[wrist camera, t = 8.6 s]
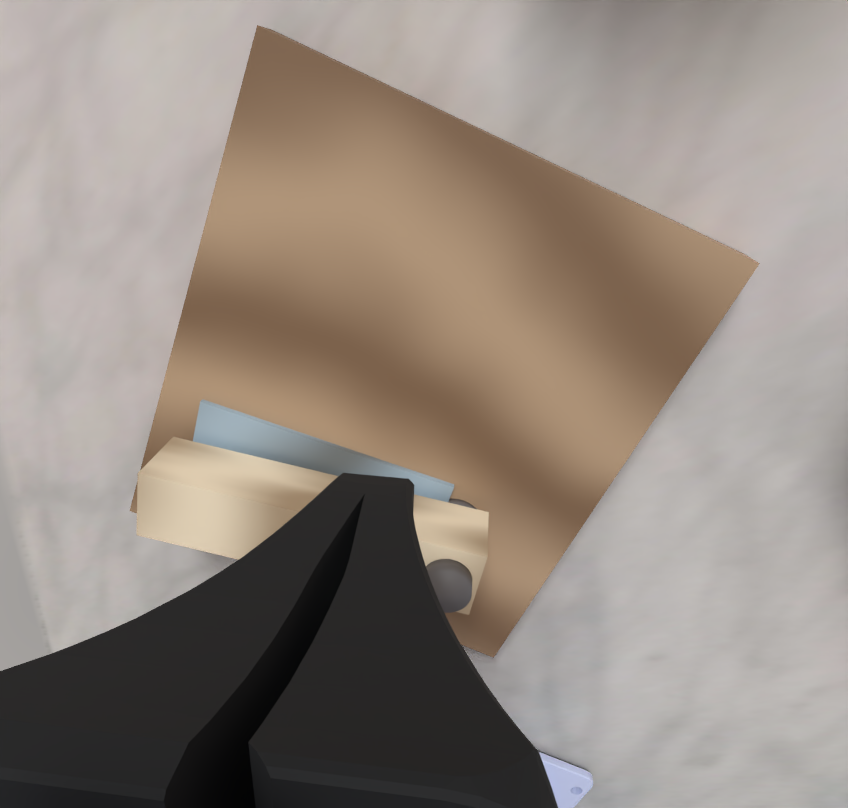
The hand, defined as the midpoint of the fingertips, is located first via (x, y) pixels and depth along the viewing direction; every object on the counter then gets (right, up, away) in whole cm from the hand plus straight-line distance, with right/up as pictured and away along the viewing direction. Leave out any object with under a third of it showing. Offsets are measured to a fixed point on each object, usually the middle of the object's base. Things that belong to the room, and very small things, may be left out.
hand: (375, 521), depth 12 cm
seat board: (0, +3, +10) cm, 11 cm away
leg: (-3, -1, +10) cm, 11 cm away
